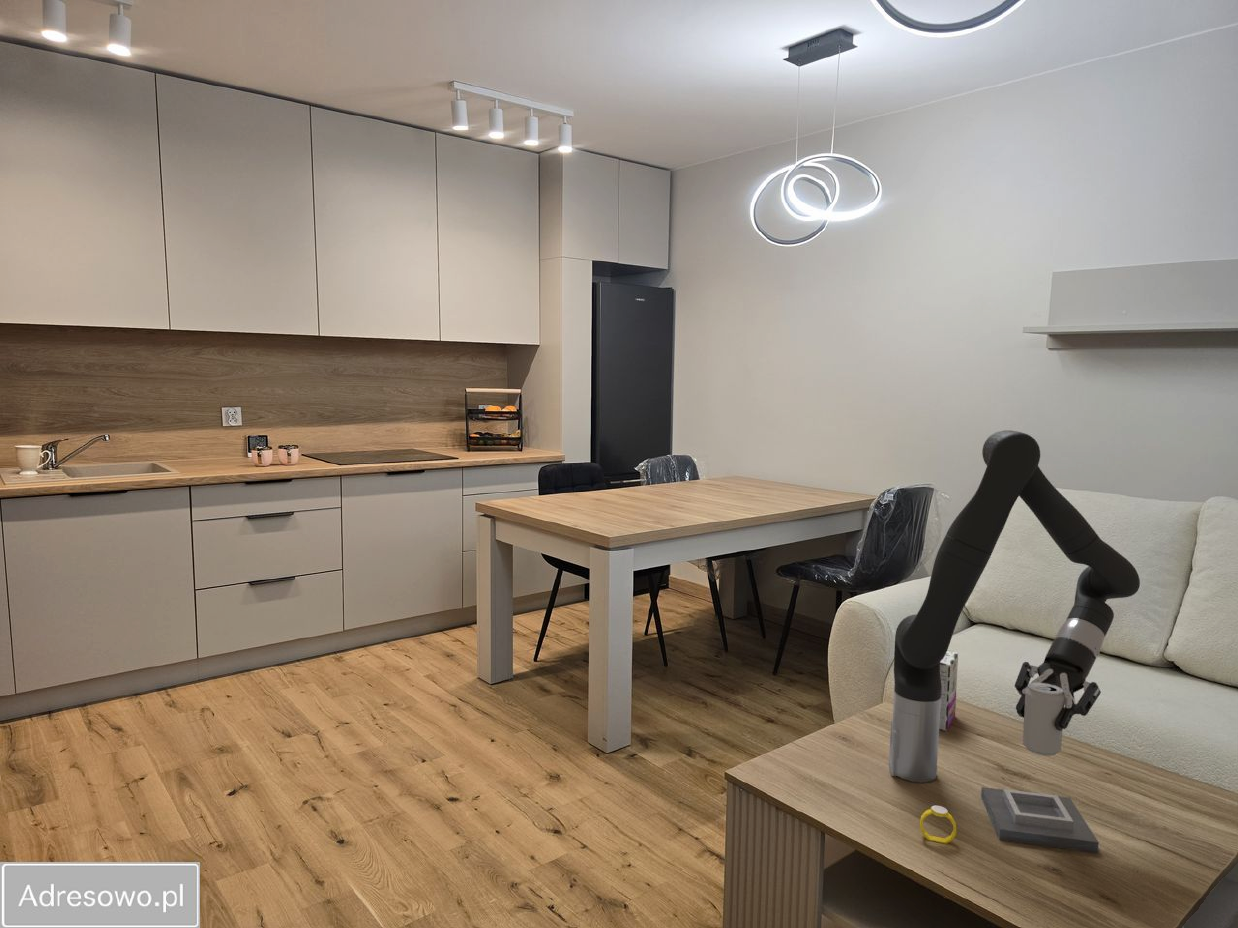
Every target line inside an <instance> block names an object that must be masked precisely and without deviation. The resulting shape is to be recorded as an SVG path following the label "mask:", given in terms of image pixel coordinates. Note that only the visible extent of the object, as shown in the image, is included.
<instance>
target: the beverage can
mask: <svg viewBox="0 0 1238 928" xmlns="http://www.w3.org/2000/svg"><path fill="white" fill-rule="evenodd" d="M1028 687H1029V688H1028V689H1027V690H1026V695H1025V710H1024V718H1023V729H1022V740H1021V741H1022V745H1023V747H1025V748H1026V749H1027V751H1029V752H1031V753H1034V754H1036V755H1040V756H1044V757H1045V756H1046V757H1047V756H1048V757H1050V756H1055V755H1057V754H1058V753H1060V752H1061V751H1062V743H1063V741H1062V740H1063V730H1062V731H1059V730H1057V729H1056V728H1055V726H1054V723H1055V721H1056V719H1057V717H1058V715H1059V713H1060V711H1061V709H1062V708H1064V707H1065V705H1064V700H1065V698H1064V696H1063V694H1062V693H1063V690H1062V689H1061V688H1060V687H1058V686H1055V685H1052V684H1048V683H1040V682H1035V683H1031V682H1029V684H1028ZM1048 687H1052V688H1055V689H1056V690H1057V691H1050V690H1051V689H1050V688H1048Z"/></svg>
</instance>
